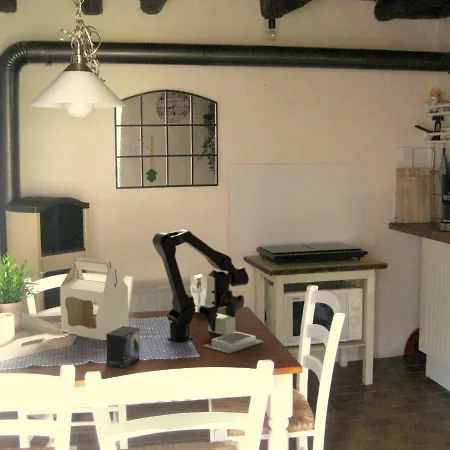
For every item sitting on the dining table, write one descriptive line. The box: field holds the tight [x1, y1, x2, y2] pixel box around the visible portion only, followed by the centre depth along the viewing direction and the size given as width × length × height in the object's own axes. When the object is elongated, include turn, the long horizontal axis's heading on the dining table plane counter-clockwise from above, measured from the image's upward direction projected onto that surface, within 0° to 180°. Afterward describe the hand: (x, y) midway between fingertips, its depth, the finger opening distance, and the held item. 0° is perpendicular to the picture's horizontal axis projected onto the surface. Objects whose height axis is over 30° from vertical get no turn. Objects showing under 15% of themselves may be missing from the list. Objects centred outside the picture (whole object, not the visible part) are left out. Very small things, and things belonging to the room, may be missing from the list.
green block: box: [208, 313, 236, 336], centre depth 233 cm, size 5×9×6 cm, turn 46°
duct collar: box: [202, 330, 264, 355], centre depth 217 cm, size 18×12×2 cm, turn 137°
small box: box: [105, 326, 140, 369], centre depth 197 cm, size 11×6×10 cm, turn 158°
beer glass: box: [190, 274, 208, 313], centre depth 266 cm, size 7×7×15 cm
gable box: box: [59, 256, 130, 341], centre depth 232 cm, size 22×13×28 cm, turn 59°
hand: (221, 329), depth 233 cm, fingers open, 9 cm apart
